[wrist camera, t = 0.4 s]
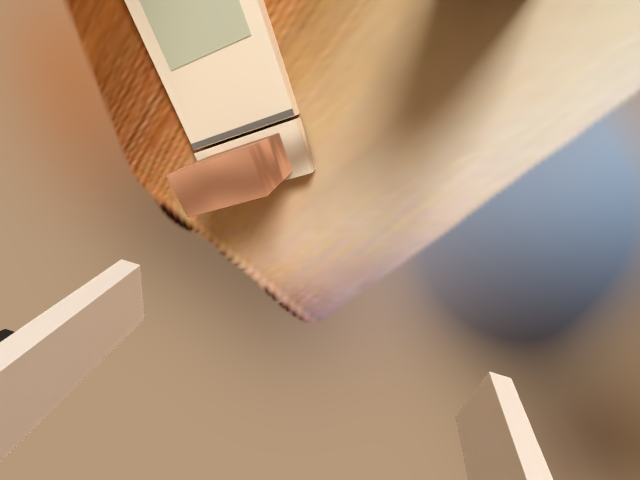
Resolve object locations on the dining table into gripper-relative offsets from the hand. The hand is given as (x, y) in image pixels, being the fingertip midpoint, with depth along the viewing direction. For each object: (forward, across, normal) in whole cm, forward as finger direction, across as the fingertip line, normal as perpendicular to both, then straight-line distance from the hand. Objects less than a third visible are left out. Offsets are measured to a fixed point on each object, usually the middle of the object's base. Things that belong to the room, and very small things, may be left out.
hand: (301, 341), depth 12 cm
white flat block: (+25, -17, +9) cm, 32 cm away
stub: (+25, -11, -2) cm, 27 cm away
